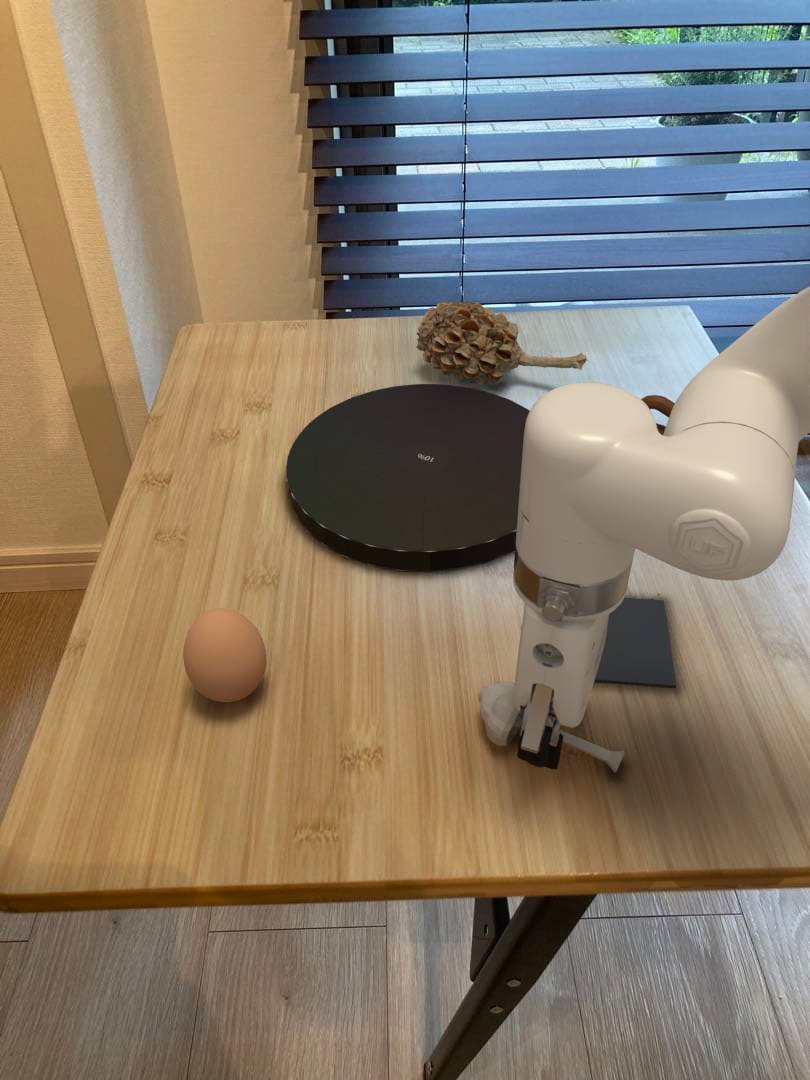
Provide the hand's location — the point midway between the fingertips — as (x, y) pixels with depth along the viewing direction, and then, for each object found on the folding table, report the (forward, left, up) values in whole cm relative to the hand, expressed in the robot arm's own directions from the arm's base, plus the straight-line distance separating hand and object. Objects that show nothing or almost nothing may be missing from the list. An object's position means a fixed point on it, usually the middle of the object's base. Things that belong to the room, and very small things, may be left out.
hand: (549, 726), depth 67 cm
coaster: (-3, -12, -1) cm, 12 cm away
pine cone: (+19, -50, -1) cm, 54 cm away
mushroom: (0, 0, -1) cm, 1 cm away
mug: (-5, -38, -1) cm, 38 cm away
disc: (+21, -28, -1) cm, 35 cm away
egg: (+26, +5, -1) cm, 27 cm away
